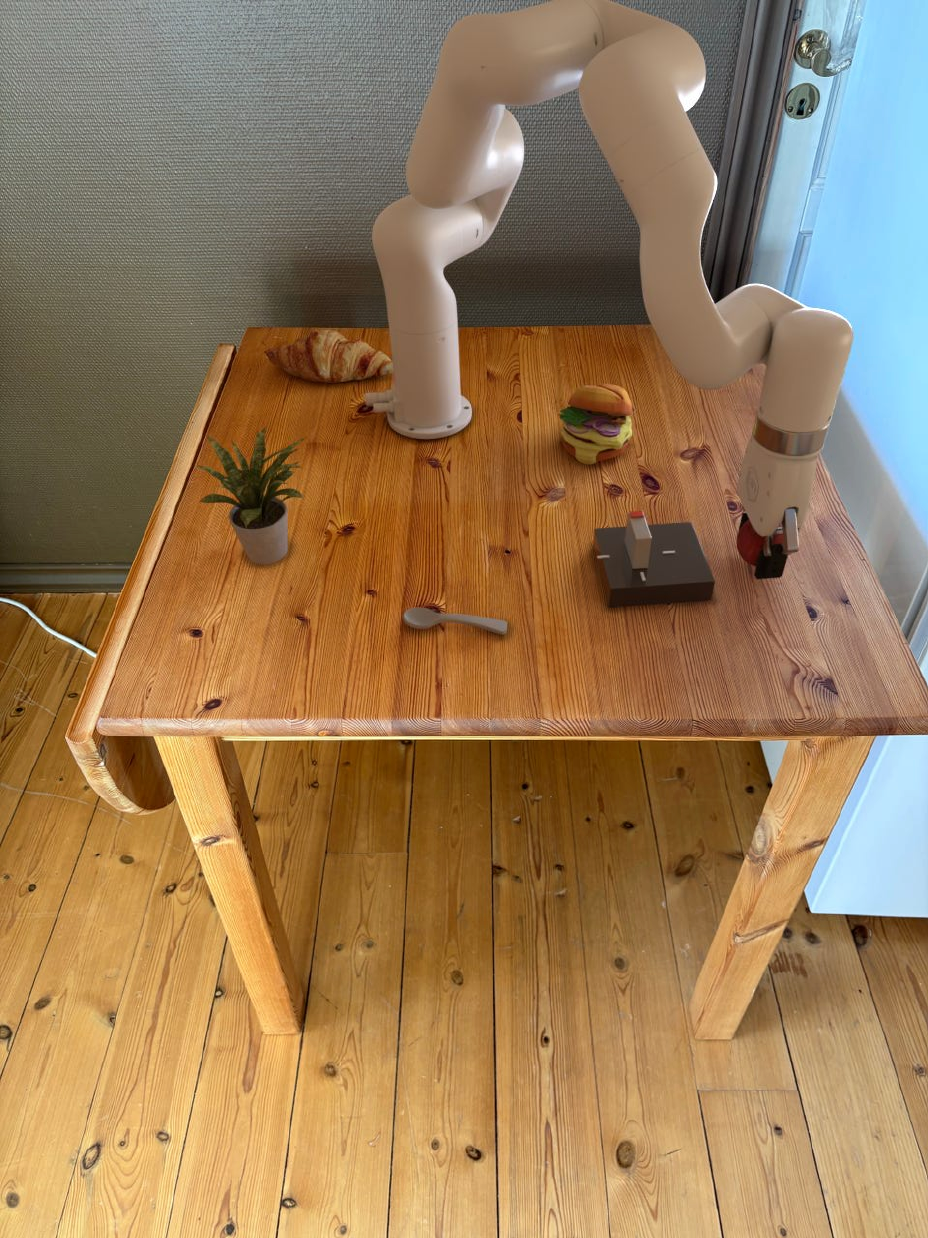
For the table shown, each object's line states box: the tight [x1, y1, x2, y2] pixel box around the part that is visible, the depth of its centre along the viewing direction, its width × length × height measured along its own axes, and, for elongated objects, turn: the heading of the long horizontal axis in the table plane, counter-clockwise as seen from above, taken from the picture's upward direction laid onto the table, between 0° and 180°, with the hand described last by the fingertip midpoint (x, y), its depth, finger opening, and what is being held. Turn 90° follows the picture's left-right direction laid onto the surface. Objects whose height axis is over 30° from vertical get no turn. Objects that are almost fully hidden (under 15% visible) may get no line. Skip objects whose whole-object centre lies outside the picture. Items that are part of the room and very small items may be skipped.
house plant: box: [197, 426, 307, 566], centre depth 111 cm, size 14×14×16 cm
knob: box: [625, 510, 652, 569], centre depth 108 cm, size 5×2×5 cm, turn 4°
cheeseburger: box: [558, 383, 636, 465], centre depth 129 cm, size 10×11×10 cm
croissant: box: [266, 328, 393, 384], centre depth 147 cm, size 21×10×8 cm, turn 80°
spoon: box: [402, 606, 508, 636], centre depth 106 cm, size 3×12×2 cm, turn 82°
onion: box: [736, 520, 783, 567], centre depth 109 cm, size 6×6×8 cm
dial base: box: [592, 521, 716, 609], centre depth 110 cm, size 13×11×3 cm
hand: (758, 556), depth 111 cm, fingers open, 6 cm apart
